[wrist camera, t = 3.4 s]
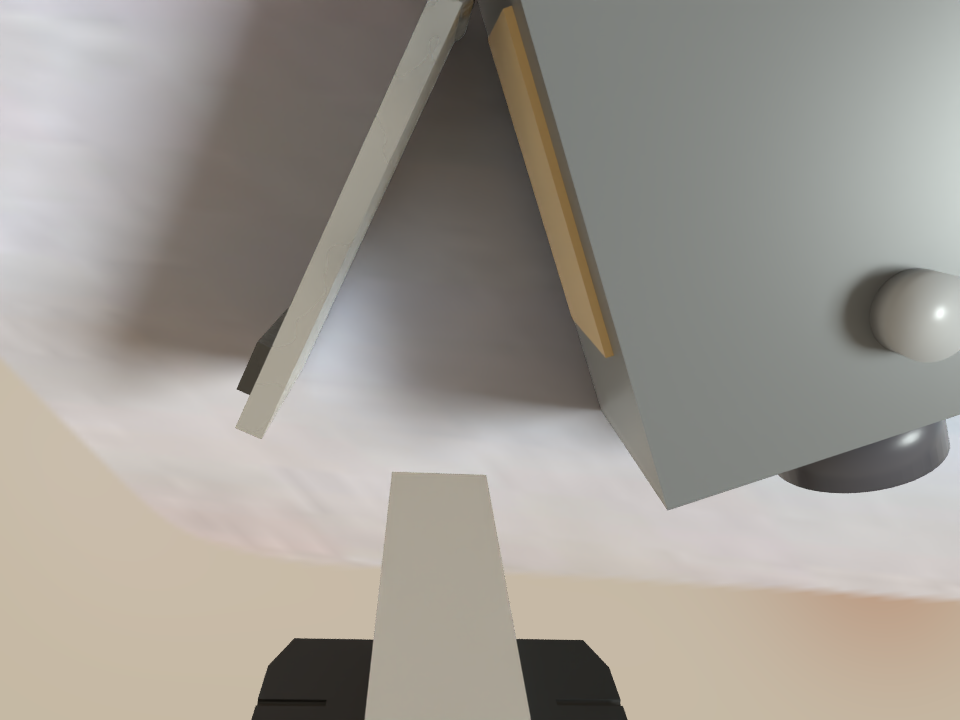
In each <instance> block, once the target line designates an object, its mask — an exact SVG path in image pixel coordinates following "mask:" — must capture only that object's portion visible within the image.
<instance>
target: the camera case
mask: <svg viewBox="0 0 960 720" xmlns="http://www.w3.org/2000/svg"><path fill="white" fill-rule="evenodd" d="M477 1H478V4H479V8H480V11H481V14H482V18H483V21H484V24H485V27H486V31H487V34H488V42H489V46H490V49H491V52H492V56H493V59H494V62H495V66H496V69H497V72H498V76H499V79H500V82H501V85H502V89H503V92H504V95H505V99H506V102H507V105H508V109H509V112H510V115H511V118H512V122H513V125H514V128H515V132H516V135H517V138H518V142H519V145H520V148H521V151H522V155H523V158H524V161H525V165H526V168H527V171H528V175H529V178H530V181H531V184H532V188H533V191H534V194H535V198H536V201H537V204H538V208H539V211H540V214H541V218H542V221H543V224H544V227H545V231H546V234H547V237H548V241H549V244H550V247H551V251H552V254H553V257H554V260H555V264H556V267H557V270H558V274H559V277H560V280H561V284H562V287H563V290H564V293H565V297H566V300H567V303H568V307H569V310H570V313H571V317H572V319H573V320H574V322H575V325H576V328H577V332H578V335H579V338H580V342H581V345H582V348H583V352H584V355H585V358H586V362H587V365H588V368H589V371H590V375H591V378H592V381H593V385H594V388H595V391H596V395H597V398H598V401H599V405H600V408H601V411H602V412H603V414H604V415H605V417H606V418H607V420H608V421H609V423H610V424H611V426H612V427H613V429H614V430H615V432H616V433H617V435H618V436H619V438H620V439H621V441H622V442H623V444H624V445H625V447H626V448H627V450H628V451H629V453H630V454H631V456H632V457H633V459H634V461H635V462H636V464H637V465H638V467H639V468H640V470H641V471H642V473H643V474H644V476H645V477H646V479H647V480H648V482H649V483H650V485H651V486H652V488H653V489H654V491H655V492H656V494H657V495H658V497H659V498H660V500H661V501H662V503H663V504H664V506H665V507H666V509H667V510H670V509H673V508H677V507H680V506H683V505H686V504H689V503H692V502H695V501H698V500H701V499H704V498H707V497H710V496H713V495H716V494H719V493H722V492H725V491H728V490H731V489H734V488H737V487H741V486H744V485H747V484H750V483H753V482H756V481H759V480H762V479H765V478H768V477H771V476H774V475H777V474H778V475H779V476H780V477H781V478H783V479H784V480H785V481H787V482H789V483H791V484H793V485H796V486H798V487H802V488H805V489H809V490H814V491H820V492H829V493H860V492H870V491H877V490H882V489H887V488H892V487H895V486H899V485H902V484H905V483H908V482H911V481H914V480H916V479H918V478H920V477H922V476H924V475H926V474H928V473H929V472H931V471H933V470H934V469H935V468H937V467H938V466H939V465H940V464H941V463H942V462H943V461H944V460H945V458H946V457H947V455H948V452H949V449H950V443H949V437H948V431H947V425H946V419H948V418H951V417H954V416H957V415H960V0H477Z"/></svg>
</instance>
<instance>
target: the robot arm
mask: <svg viewBox="0 0 960 720" xmlns="http://www.w3.org/2000/svg"><path fill="white" fill-rule="evenodd" d="M252 720H627V717H626V714H625V711H624V708H623V706H621V705H620V697H619V694H618V692H617V689H616V686H615V683H614V680H613V677H612V675H611V672H610V669H609V667H608V666H607V665H606V664H605V663H604V662H603V661H602V660H601V659H600V658H599V656H598V655H597V654H596V653H595V652H594V651H593V650H592V649H591V648H590V647H589V646H588V645H587V644H586V643H585V642H584V641H583V640H539V639H516V636H515V630H514V625H513V619H512V614H511V609H510V603H509V598H508V592H507V587H506V581H505V576H504V570H503V565H502V559H501V554H500V548H499V543H498V537H497V532H496V527H495V521H494V516H493V510H492V505H491V499H490V494H489V488H488V483H487V477H486V475H469V474H440V473H411V472H392V478H391V487H390V496H389V505H388V514H387V523H386V532H385V541H384V550H383V559H382V568H381V577H380V586H379V595H378V604H377V613H376V623H375V631H374V640H362V639H360V640H359V639H300V638H294V639H293V640H292V641H291V642H290V644H289V645H288V646H287V647H286V648H285V649H284V650H283V651H282V652H281V653H280V654H279V655H278V656H277V657H276V658H275V659H274V660H273V661H272V662H271V663H270V665H269V666H268V668H267V672H266V675H265V678H264V681H263V684H262V688H261V691H260V694H259V697H258V704H257V706H256V707H255V710H254V714H253V716H252Z"/></svg>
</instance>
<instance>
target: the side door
mask: <svg viewBox="0 0 960 720" xmlns="http://www.w3.org/2000/svg"><path fill="white" fill-rule="evenodd" d="M474 2H475V0H428V1H427V3H426V6H425V8H424V10H423V12H422V14H421V17H420V19H419V21H418V23H417V26H416V28H415V30H414V32H413V34H412V37H411V39H410V41H409V43H408V45H407V48H406V50H405V52H404V54H403V57H402V59H401V61H400V63H399V65H398V68H397V70H396V72H395V74H394V77H393V79H392V81H391V83H390V85H389V88H388V90H387V92H386V94H385V97H384V99H383V101H382V103H381V105H380V108H379V110H378V112H377V114H376V117H375V119H374V121H373V123H372V125H371V128H370V130H369V132H368V134H367V136H366V139H365V141H364V143H363V145H362V148H361V150H360V152H359V154H358V156H357V159H356V161H355V163H354V165H353V168H352V170H351V172H350V174H349V176H348V179H347V181H346V183H345V185H344V188H343V190H342V192H341V194H340V196H339V199H338V201H337V203H336V205H335V208H334V210H333V212H332V214H331V216H330V219H329V221H328V223H327V225H326V227H325V230H324V232H323V234H322V236H321V239H320V241H319V243H318V245H317V247H316V250H315V252H314V254H313V256H312V259H311V261H310V263H309V265H308V267H307V270H306V272H305V274H304V276H303V279H302V281H301V283H300V285H299V287H298V290H297V292H296V294H295V296H294V299H293V301H292V303H291V305H290V307H289V308H288V309H287V310H286V311H285V312H284V313H283V315H282V316H281V317H280V318H279V319H278V320H277V321H276V322H275V323H274V324H273V326H272V327H271V328H270V329H269V330H268V331H267V332H266V333H265V334H264V335H263V337H262V338H261V339H260V340H259V341H258V342H257V344H256V347H255V349H254V351H253V353H252V356H251V358H250V360H249V362H248V365H247V367H246V369H245V371H244V374H243V376H242V378H241V380H240V383H239V385H238V387H237V390H239V391H242V392H244V393H246V394H249V395H250V396H249V398H248V401H247V403H246V405H245V407H244V409H243V412H242V414H241V416H240V418H239V421H238V423H237V425H236V427H235V428H236V429H239V430H241V431H243V432H246V433H248V434H250V435H253V436H255V437H257V438H260V439H262V437H263V436H264V434H265V432H266V431H267V429H268V427H269V426H270V424H271V422H272V420H273V419H274V417H275V415H276V414H277V412H278V410H279V409H280V407H281V405H282V403H283V402H284V400H285V398H286V397H287V395H288V393H289V392H290V390H291V388H292V386H293V385H294V383H295V381H296V380H297V378H298V376H299V375H300V373H301V371H302V369H303V368H304V365H305V363H306V361H307V359H308V357H309V355H310V352H311V350H312V348H313V346H314V344H315V342H316V340H317V337H318V335H319V333H320V331H321V329H322V327H323V324H324V322H325V320H326V318H327V316H328V314H329V311H330V309H331V307H332V305H333V303H334V301H335V299H336V296H337V294H338V292H339V290H340V288H341V286H342V283H343V281H344V279H345V277H346V275H347V273H348V270H349V268H350V266H351V264H352V262H353V260H354V258H355V255H356V253H357V251H358V249H359V247H360V245H361V242H362V240H363V238H364V236H365V234H366V232H367V229H368V227H369V225H370V223H371V221H372V219H373V217H374V214H375V212H376V210H377V208H378V206H379V204H380V201H381V199H382V197H383V195H384V193H385V191H386V188H387V186H388V184H389V182H390V180H391V178H392V176H393V173H394V171H395V169H396V167H397V165H398V163H399V160H400V158H401V156H402V154H403V152H404V150H405V147H406V145H407V143H408V141H409V139H410V137H411V135H412V132H413V130H414V128H415V126H416V124H417V122H418V119H419V117H420V115H421V113H422V111H423V109H424V106H425V104H426V102H427V100H428V98H429V96H430V93H431V91H432V89H433V87H434V85H435V83H436V81H437V78H438V76H439V74H440V72H441V70H442V68H443V65H444V63H445V61H446V59H447V57H448V55H449V52H450V50H451V48H452V46H453V44H454V42H456V41H458V40H460V39H461V38H462V37H463V35H464V34H465V32H466V29H467V26H468V22H469V19H470V15H471V12H472V9H473V5H474Z"/></svg>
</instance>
